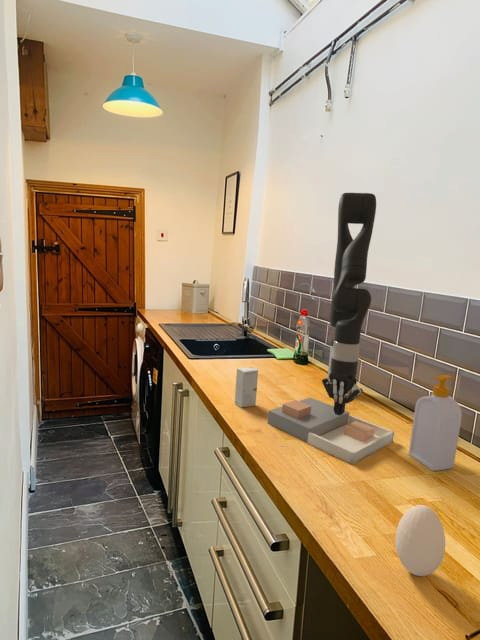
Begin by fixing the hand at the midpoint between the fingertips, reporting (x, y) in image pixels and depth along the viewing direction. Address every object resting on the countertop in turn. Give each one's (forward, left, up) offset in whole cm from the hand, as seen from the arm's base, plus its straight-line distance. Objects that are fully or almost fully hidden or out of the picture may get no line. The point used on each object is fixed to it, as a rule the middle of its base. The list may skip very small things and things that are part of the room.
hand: (338, 414), depth 121 cm
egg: (+37, +40, -5) cm, 55 cm away
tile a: (-1, +7, -2) cm, 7 cm away
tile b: (+8, -9, -1) cm, 12 cm away
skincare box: (+9, -30, -5) cm, 32 cm away
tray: (+4, +7, -5) cm, 10 cm away
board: (+4, -8, -5) cm, 10 cm away
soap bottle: (-4, +26, -5) cm, 27 cm away
